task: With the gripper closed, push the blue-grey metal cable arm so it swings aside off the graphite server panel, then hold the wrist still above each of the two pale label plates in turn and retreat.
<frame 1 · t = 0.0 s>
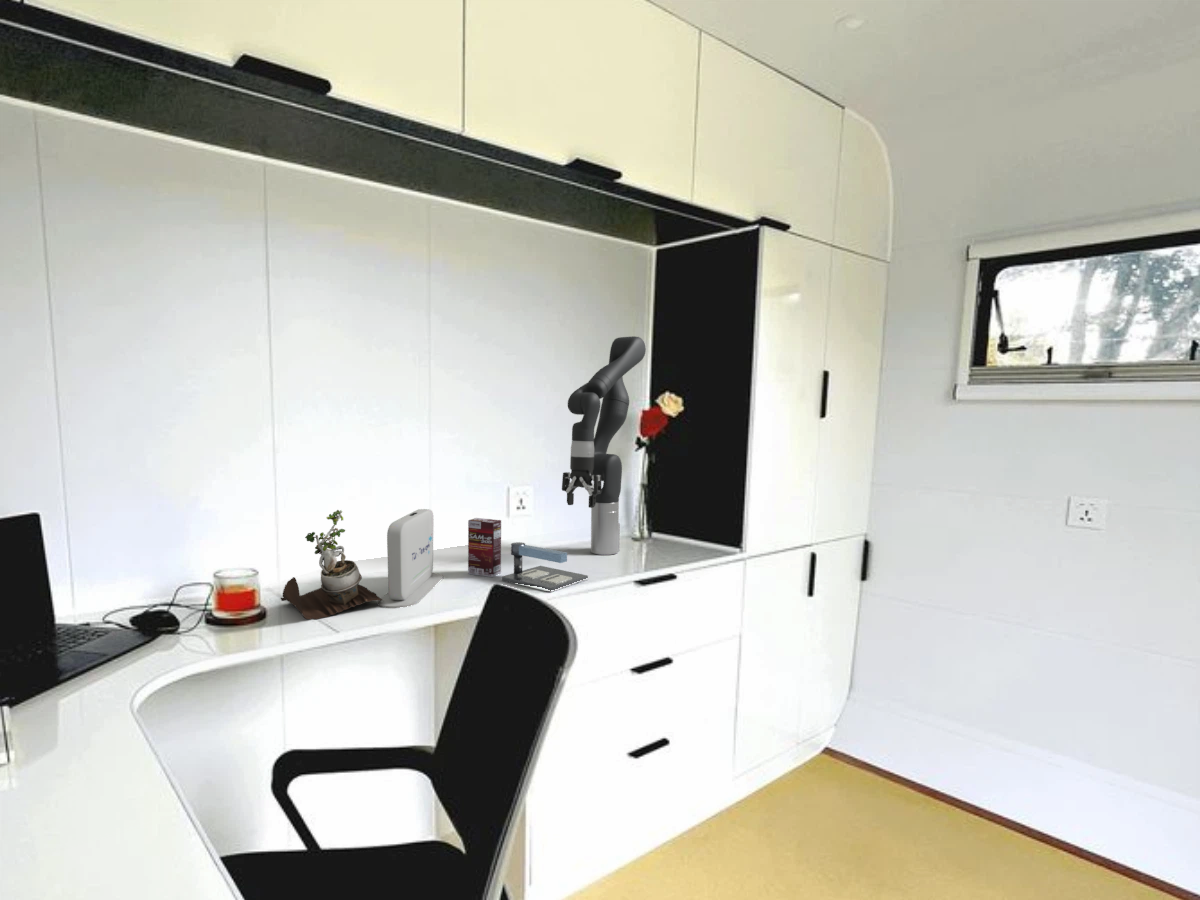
hand: (580, 506, 202), 17 cm above the table, tool pointing down, fingers open, 8 cm apart
supplement box: (484, 574, 183), on the table
potted plant: (329, 605, 152), on the table, touching wireless router
cable arm: (537, 552, 176), point 8 cm above the table, hinge at 0.0°
wireless router: (412, 590, 167), on the table, touching potted plant
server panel: (545, 580, 177), on the table
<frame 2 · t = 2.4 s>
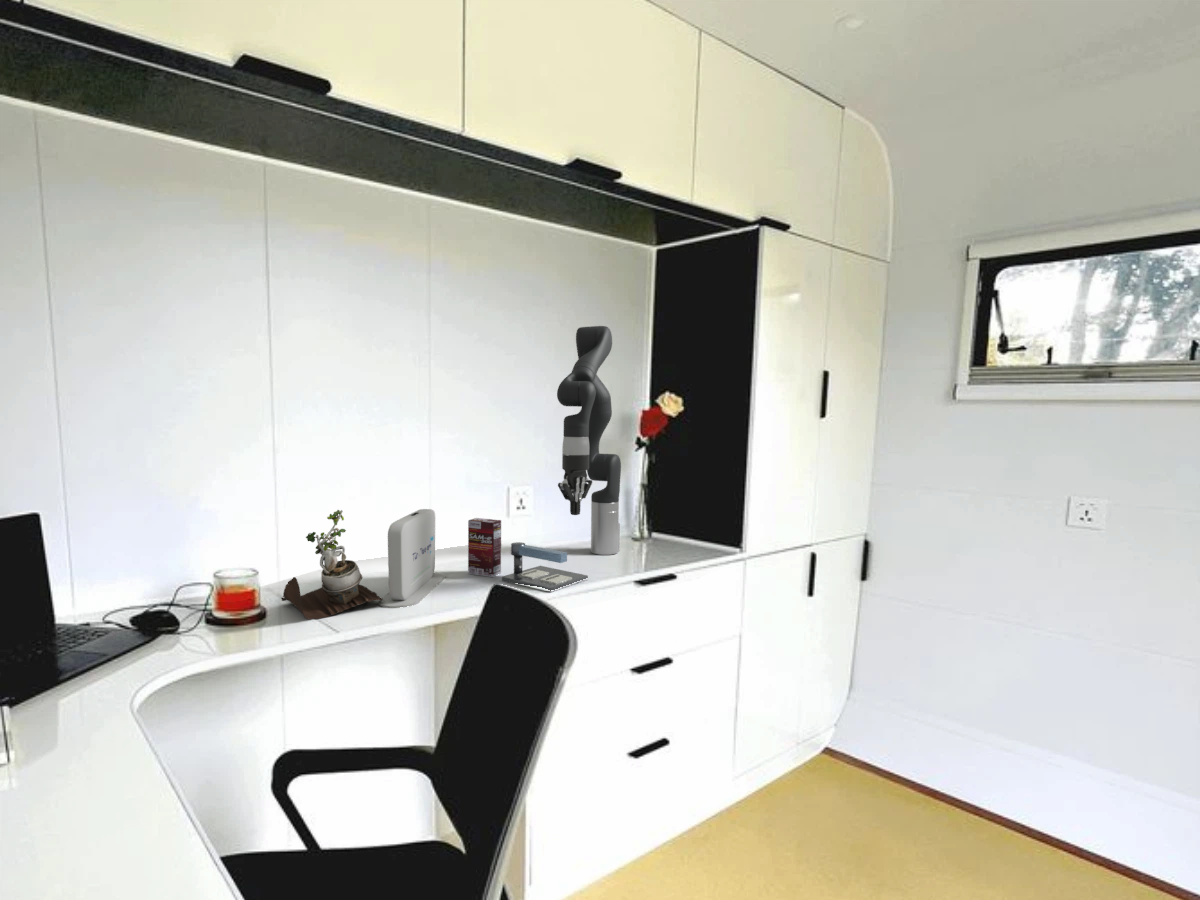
hand: (575, 514, 177), 18 cm above the table, tool pointing down, fingers closed
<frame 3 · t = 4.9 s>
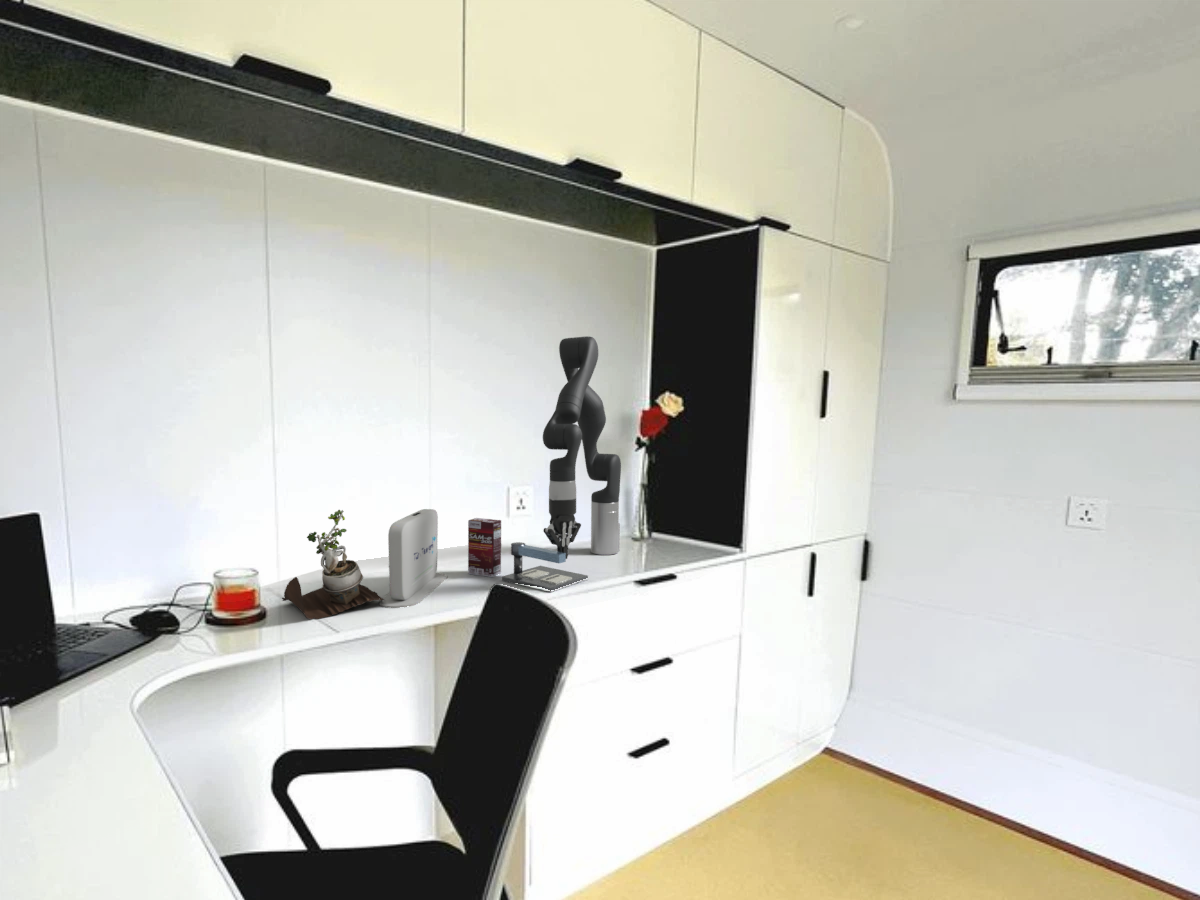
hand: (562, 559, 174), 7 cm above the table, tool pointing down, fingers closed
cable arm: (537, 552, 176), point 8 cm above the table, hinge at 2.1°, touching gripper
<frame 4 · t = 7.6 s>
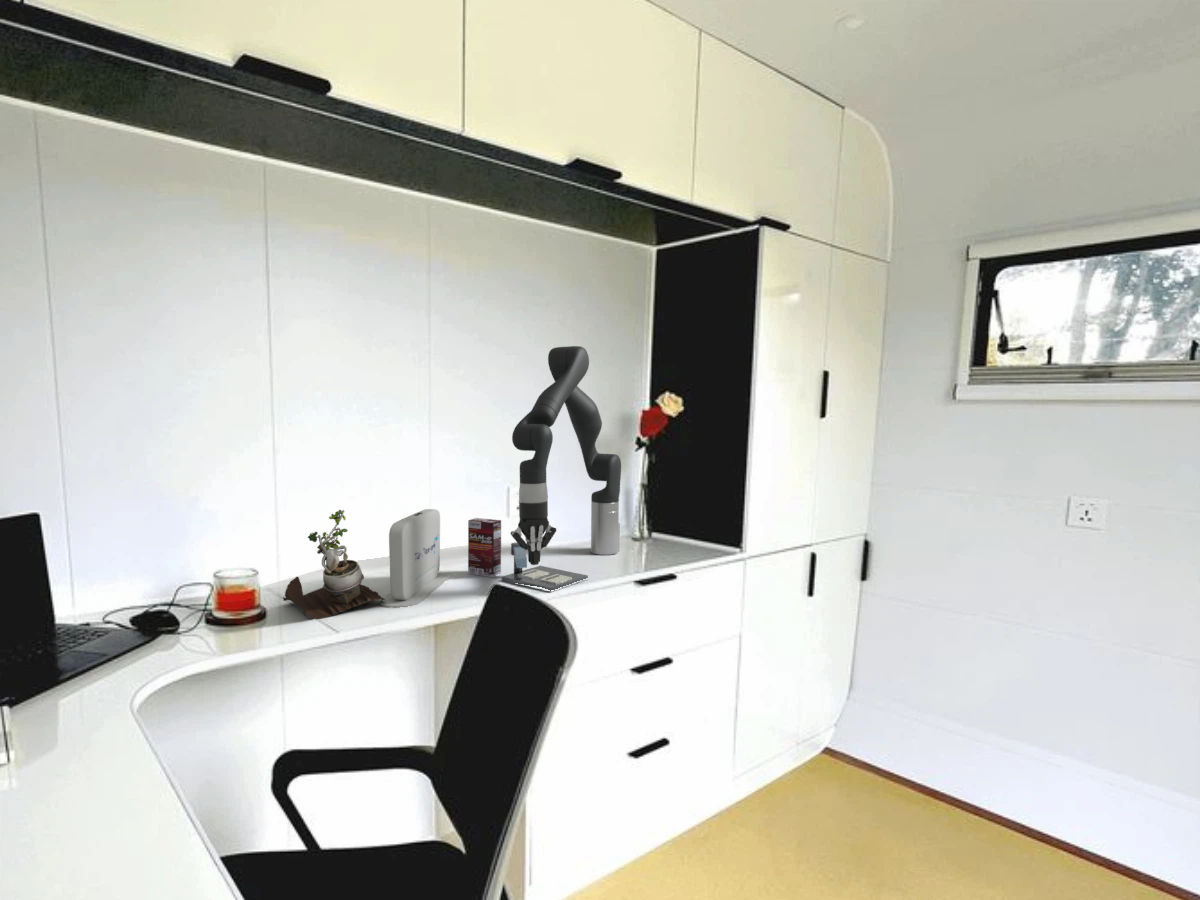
hand: (534, 564, 168), 7 cm above the table, tool pointing down, fingers closed
cable arm: (519, 554, 173), point 8 cm above the table, hinge at 42.8°, touching gripper
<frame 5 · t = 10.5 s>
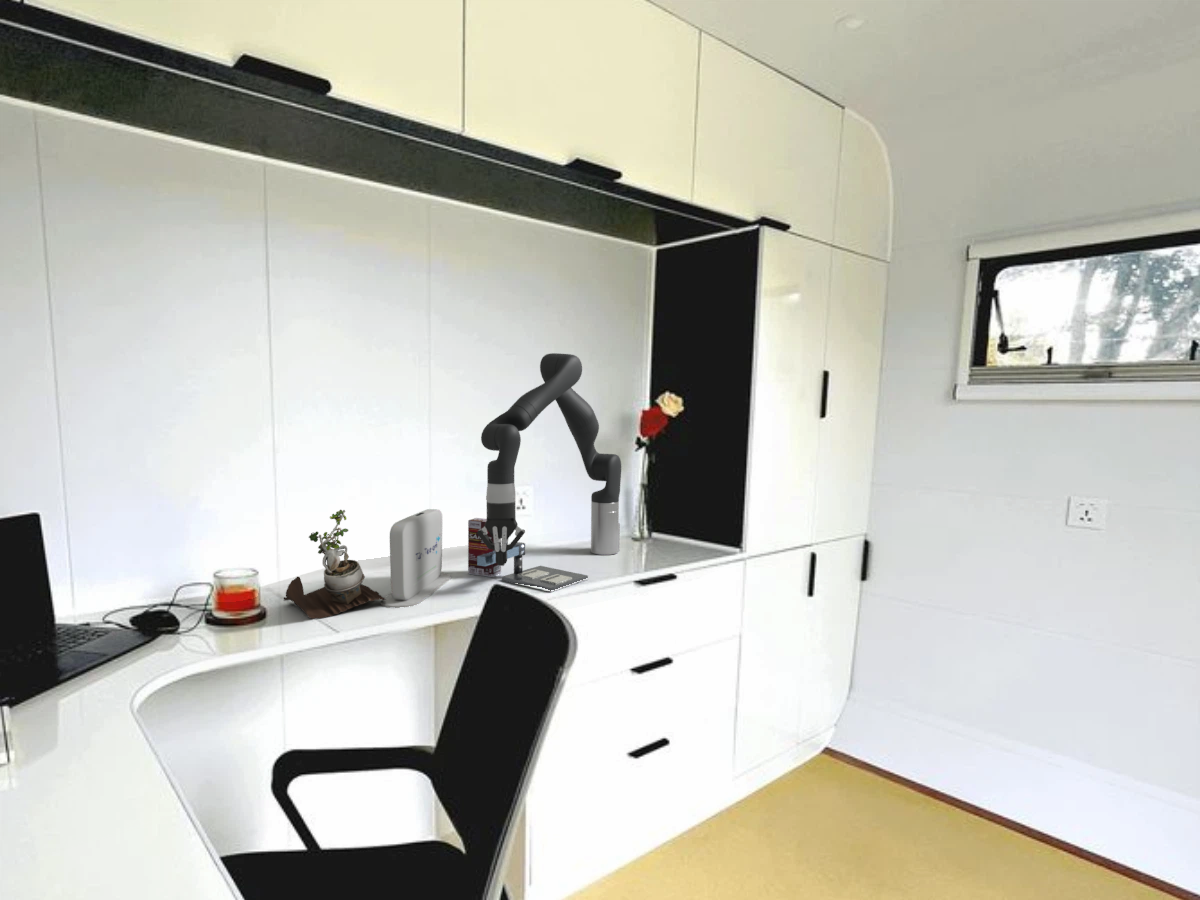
hand: (501, 565, 167), 7 cm above the table, tool pointing down, fingers closed
cable arm: (502, 554, 174), point 8 cm above the table, hinge at 80.2°
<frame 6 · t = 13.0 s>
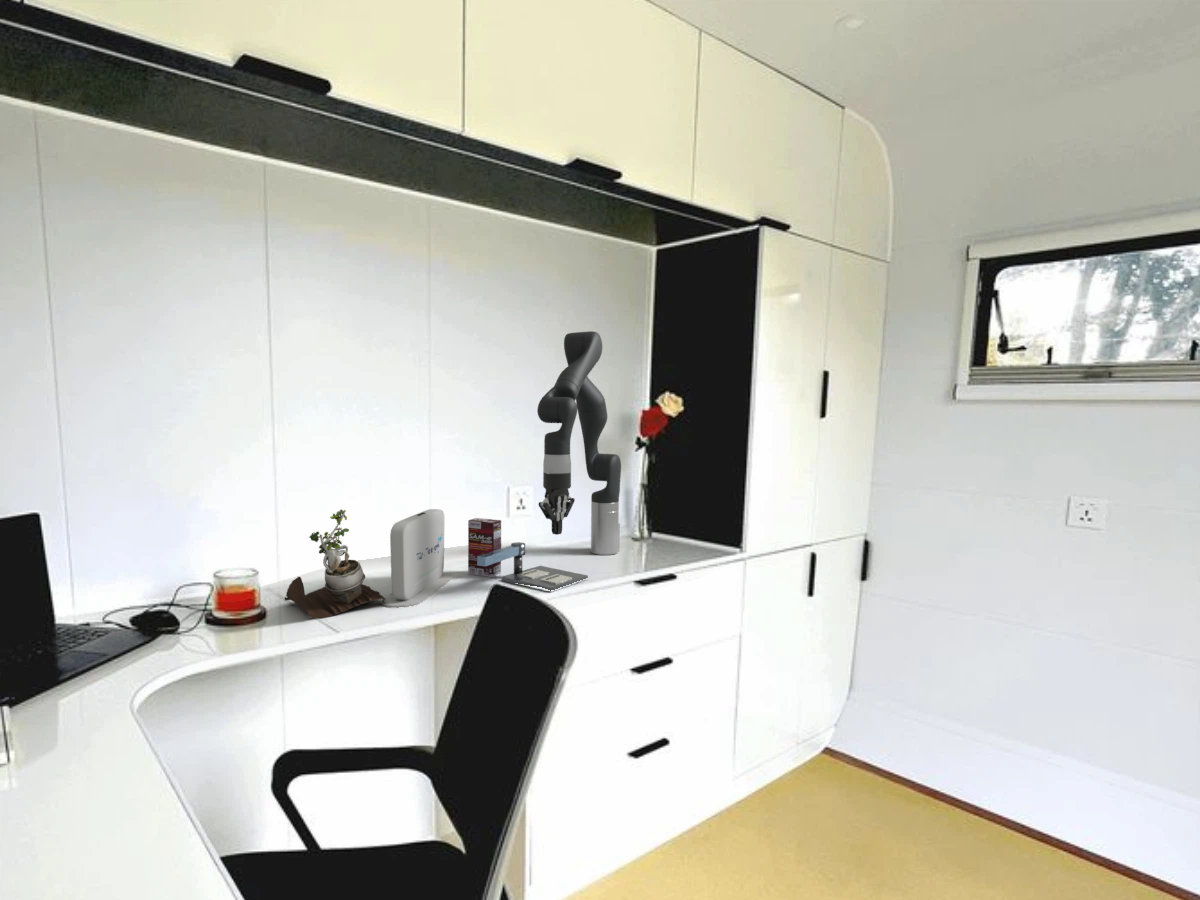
hand: (556, 533, 173), 14 cm above the table, tool pointing down, fingers closed
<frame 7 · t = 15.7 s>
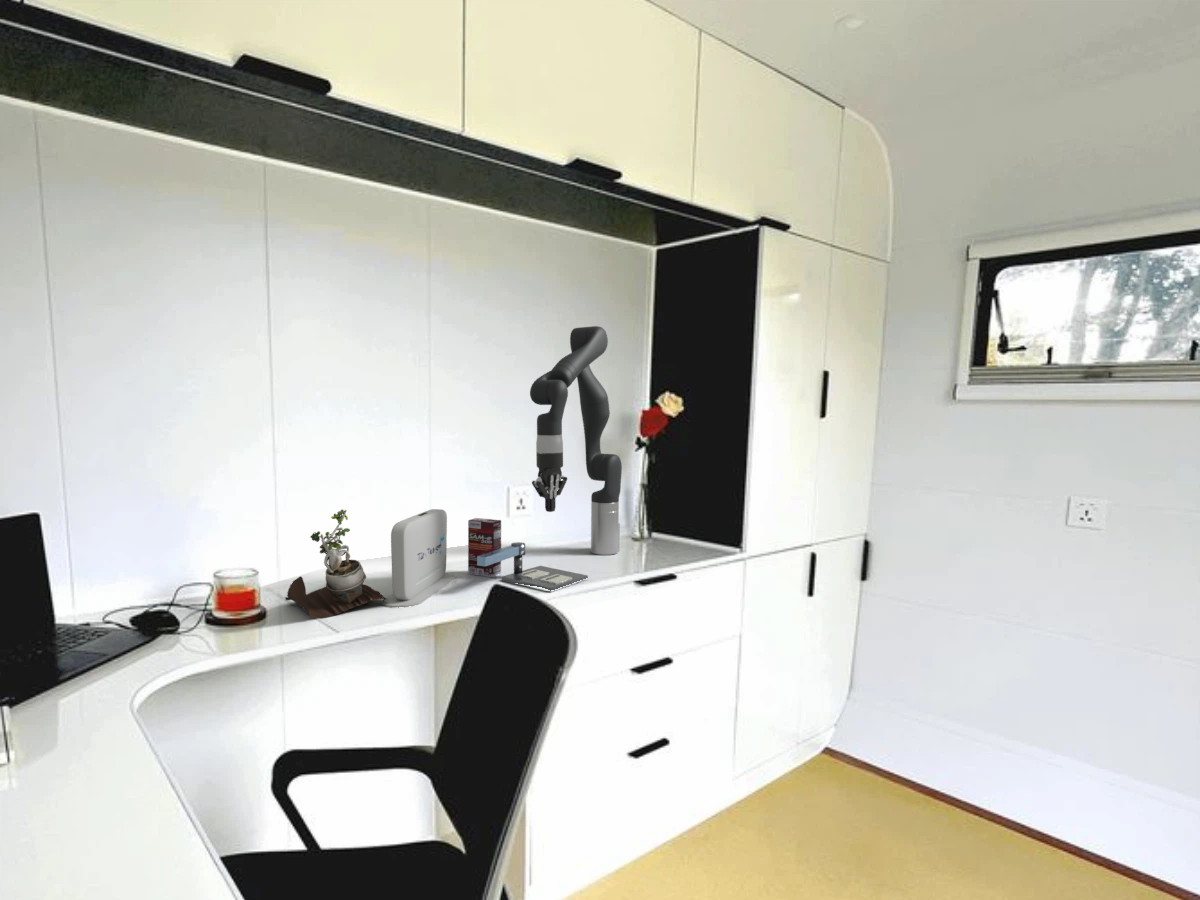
hand: (550, 511, 180), 19 cm above the table, tool pointing down, fingers closed
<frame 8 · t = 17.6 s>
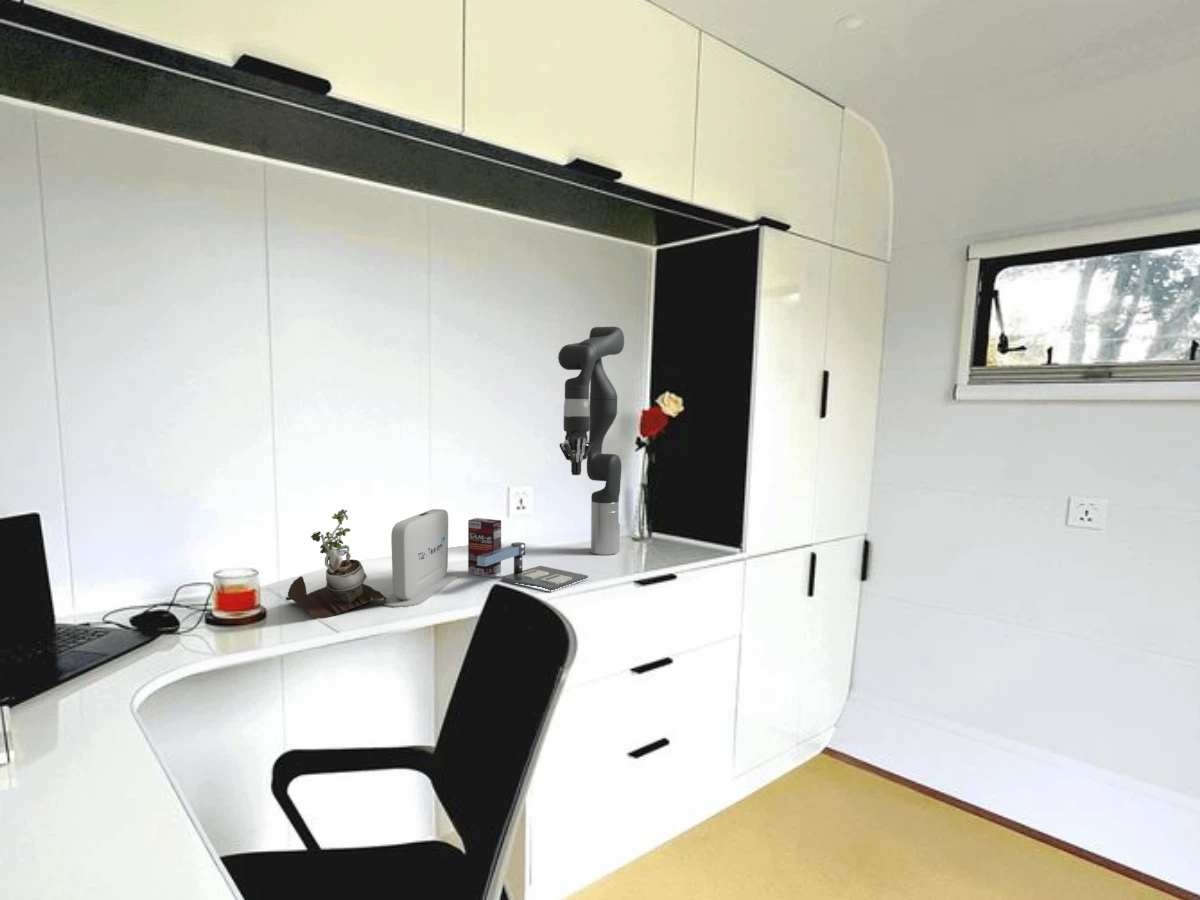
hand: (576, 474, 183), 29 cm above the table, tool pointing down, fingers closed
at the end: cable arm at +80° (first picture: +0°) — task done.
